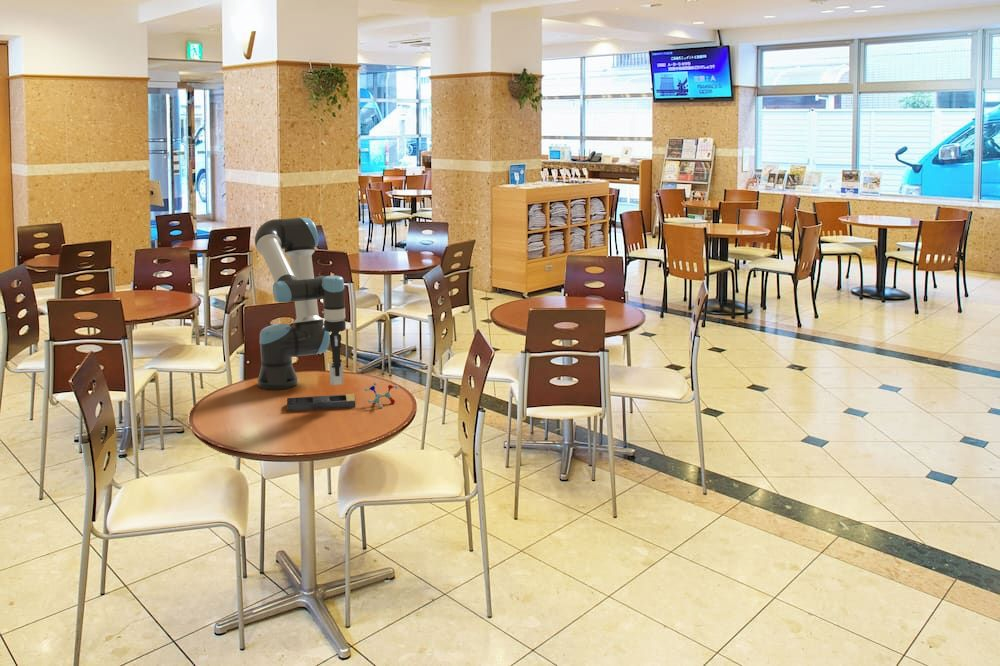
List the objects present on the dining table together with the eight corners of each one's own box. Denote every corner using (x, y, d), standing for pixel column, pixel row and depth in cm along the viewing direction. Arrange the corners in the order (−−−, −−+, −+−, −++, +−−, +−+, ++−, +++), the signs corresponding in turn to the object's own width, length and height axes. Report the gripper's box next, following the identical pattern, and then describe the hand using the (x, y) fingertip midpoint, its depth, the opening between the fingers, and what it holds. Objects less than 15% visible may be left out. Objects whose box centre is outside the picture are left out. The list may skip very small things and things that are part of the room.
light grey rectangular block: (330, 381, 320) (329, 363, 319) (342, 380, 321) (342, 362, 320) (330, 385, 316) (329, 366, 314) (343, 384, 317) (342, 365, 315)
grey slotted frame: (287, 404, 321) (287, 397, 320) (354, 400, 326) (353, 393, 325) (287, 411, 313) (287, 404, 313) (355, 407, 318) (355, 400, 318)
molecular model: (390, 401, 313) (380, 376, 315) (368, 412, 316) (358, 387, 318) (404, 401, 324) (394, 376, 326) (383, 412, 327) (374, 387, 329)
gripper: (323, 314, 321) (326, 376, 326) (324, 325, 304) (327, 389, 309) (344, 313, 322) (346, 374, 328) (346, 324, 305) (349, 388, 311)
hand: (337, 382), depth 319 cm, fingers closed on light grey rectangular block, 4 cm apart
